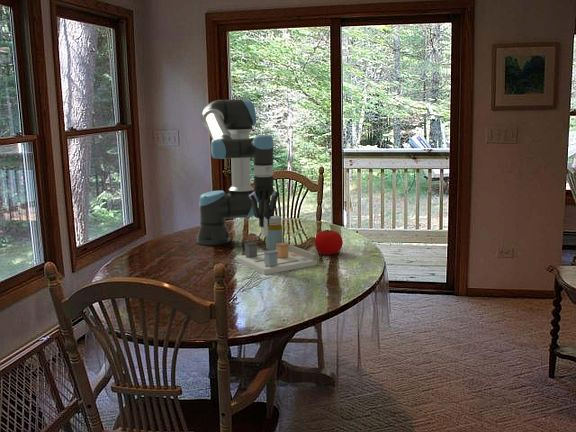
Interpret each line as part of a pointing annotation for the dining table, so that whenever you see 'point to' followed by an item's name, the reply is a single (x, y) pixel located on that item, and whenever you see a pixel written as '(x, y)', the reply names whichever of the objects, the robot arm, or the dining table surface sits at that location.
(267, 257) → the slider right
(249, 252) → the slider left
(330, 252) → the tomato
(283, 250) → the slider mid
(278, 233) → the bottle
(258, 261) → the white base board
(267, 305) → the dining table surface
